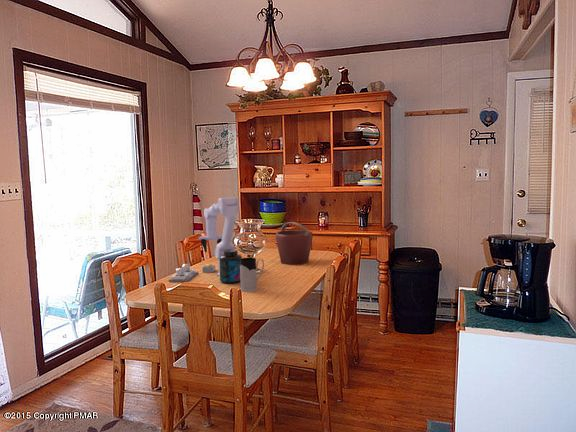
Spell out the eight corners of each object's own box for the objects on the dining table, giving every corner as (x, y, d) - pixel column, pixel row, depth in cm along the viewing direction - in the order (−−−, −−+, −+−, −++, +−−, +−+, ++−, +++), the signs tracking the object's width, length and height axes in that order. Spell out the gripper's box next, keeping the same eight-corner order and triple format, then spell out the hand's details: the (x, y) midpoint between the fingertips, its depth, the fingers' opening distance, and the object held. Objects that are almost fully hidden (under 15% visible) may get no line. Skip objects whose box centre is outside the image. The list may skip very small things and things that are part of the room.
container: (221, 278, 248) (220, 249, 247) (243, 278, 248) (242, 248, 247) (218, 284, 237) (217, 253, 235) (242, 283, 237) (240, 252, 235)
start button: (210, 271, 266) (210, 265, 266) (205, 271, 267) (205, 265, 266) (212, 270, 269) (212, 264, 269) (207, 270, 270) (206, 264, 269)
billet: (191, 273, 258) (190, 264, 257) (184, 274, 256) (183, 265, 255) (188, 272, 261) (188, 263, 261) (181, 273, 259) (181, 264, 259)
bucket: (318, 264, 280) (317, 222, 277) (284, 267, 272) (282, 225, 269) (302, 257, 303) (301, 219, 300) (270, 260, 294) (268, 221, 292)
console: (212, 272, 265) (212, 267, 264) (202, 272, 265) (202, 267, 265) (215, 270, 271) (215, 265, 270) (205, 270, 271) (205, 265, 271)
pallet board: (187, 281, 244) (187, 276, 243) (168, 281, 245) (168, 276, 244) (198, 273, 264) (197, 268, 263) (180, 273, 264) (180, 268, 264)
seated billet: (185, 277, 247) (184, 268, 247) (178, 279, 245) (177, 269, 245) (182, 276, 251) (182, 267, 250) (175, 277, 249) (175, 268, 248)
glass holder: (236, 289, 225) (235, 259, 223) (258, 284, 235) (257, 254, 233) (247, 292, 219) (246, 261, 217) (270, 287, 229) (269, 257, 227)
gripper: (225, 227, 273) (226, 250, 275) (201, 228, 274) (202, 250, 276) (222, 229, 266) (223, 252, 268) (197, 229, 268) (198, 253, 269)
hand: (212, 252), depth 271 cm, fingers open, 7 cm apart
